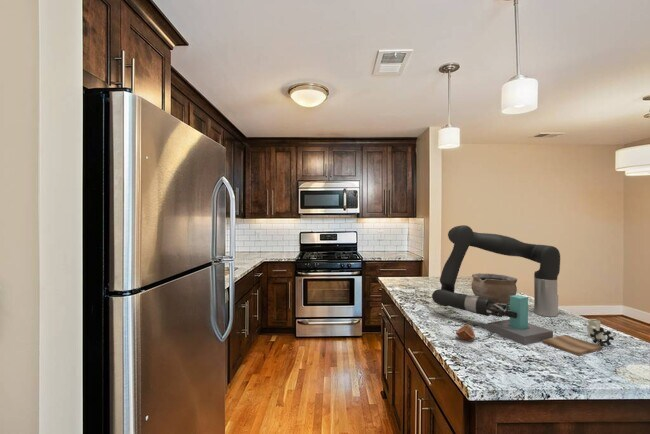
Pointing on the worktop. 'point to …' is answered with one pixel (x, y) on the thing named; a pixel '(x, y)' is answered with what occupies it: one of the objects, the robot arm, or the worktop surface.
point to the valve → (598, 332)
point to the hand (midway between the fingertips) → (520, 313)
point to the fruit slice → (466, 333)
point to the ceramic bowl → (494, 287)
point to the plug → (519, 312)
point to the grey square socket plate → (519, 332)
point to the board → (572, 345)
